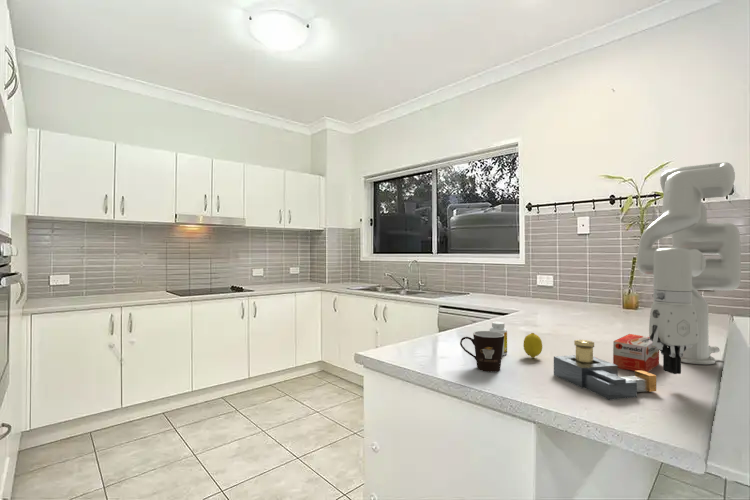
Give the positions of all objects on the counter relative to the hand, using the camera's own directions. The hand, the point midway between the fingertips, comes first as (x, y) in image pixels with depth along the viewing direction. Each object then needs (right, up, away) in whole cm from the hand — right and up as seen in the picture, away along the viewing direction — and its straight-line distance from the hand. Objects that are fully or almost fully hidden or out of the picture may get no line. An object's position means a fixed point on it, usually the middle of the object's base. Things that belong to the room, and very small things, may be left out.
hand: (671, 372), depth 94 cm
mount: (-18, -4, +3) cm, 18 cm away
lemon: (-23, -4, +27) cm, 36 cm away
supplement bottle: (-33, -4, +32) cm, 46 cm away
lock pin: (-10, -4, -2) cm, 11 cm away
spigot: (-18, -4, +6) cm, 20 cm away
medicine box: (+4, -5, +19) cm, 20 cm away
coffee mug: (-42, -4, +17) cm, 45 cm away
